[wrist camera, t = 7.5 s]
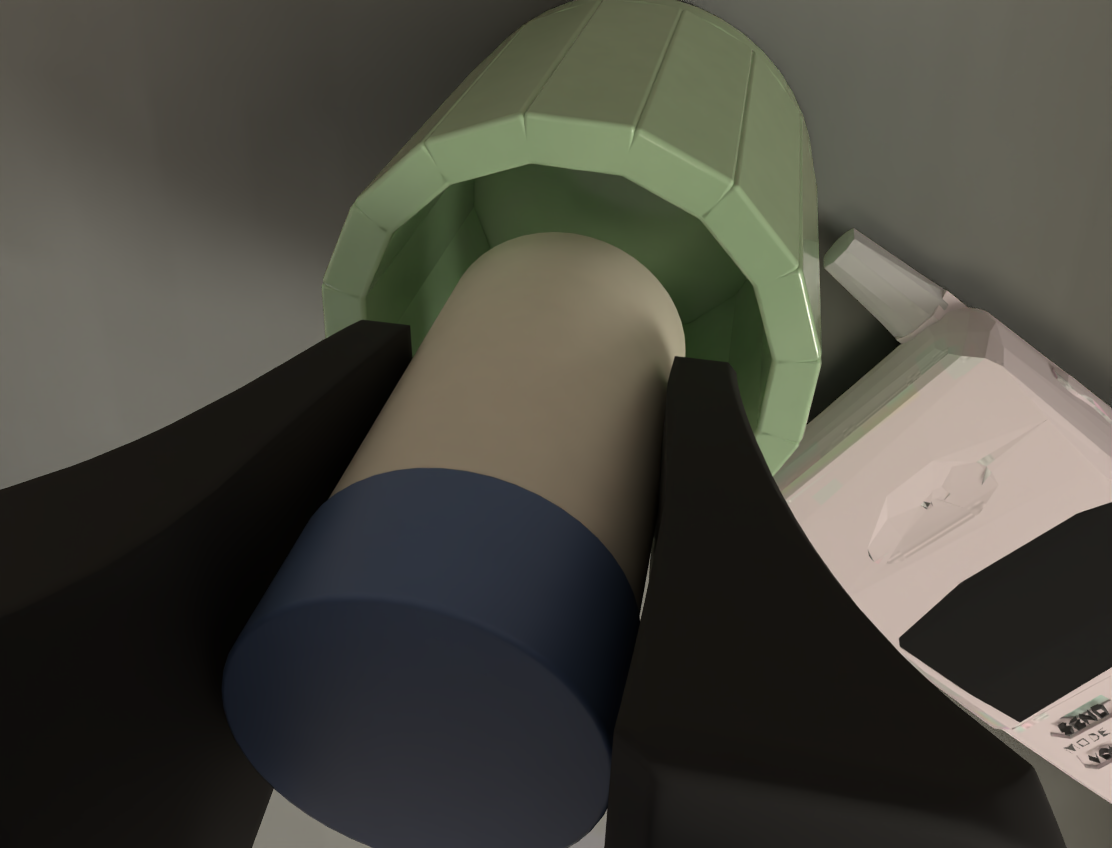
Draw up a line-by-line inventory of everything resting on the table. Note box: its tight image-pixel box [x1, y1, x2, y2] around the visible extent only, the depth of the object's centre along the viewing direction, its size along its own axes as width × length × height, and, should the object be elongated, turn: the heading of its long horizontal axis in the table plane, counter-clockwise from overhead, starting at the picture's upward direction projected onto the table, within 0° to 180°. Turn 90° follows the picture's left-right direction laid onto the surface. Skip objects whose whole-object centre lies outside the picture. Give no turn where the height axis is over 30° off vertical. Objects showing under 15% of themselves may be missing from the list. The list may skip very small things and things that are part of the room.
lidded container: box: [222, 232, 686, 848], centre depth 11 cm, size 3×3×7 cm
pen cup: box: [322, 0, 822, 476], centre depth 16 cm, size 6×6×6 cm
